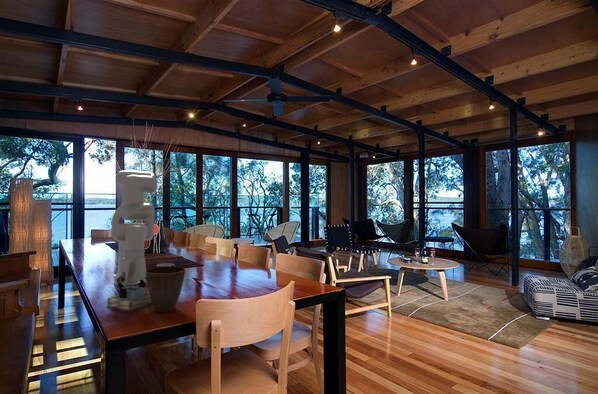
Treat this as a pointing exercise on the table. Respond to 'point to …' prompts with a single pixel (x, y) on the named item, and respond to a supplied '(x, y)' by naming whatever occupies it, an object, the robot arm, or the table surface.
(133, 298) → the slate crate
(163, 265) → the coffee mug
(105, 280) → the table surface
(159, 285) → the plant pot
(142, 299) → the birch crate
